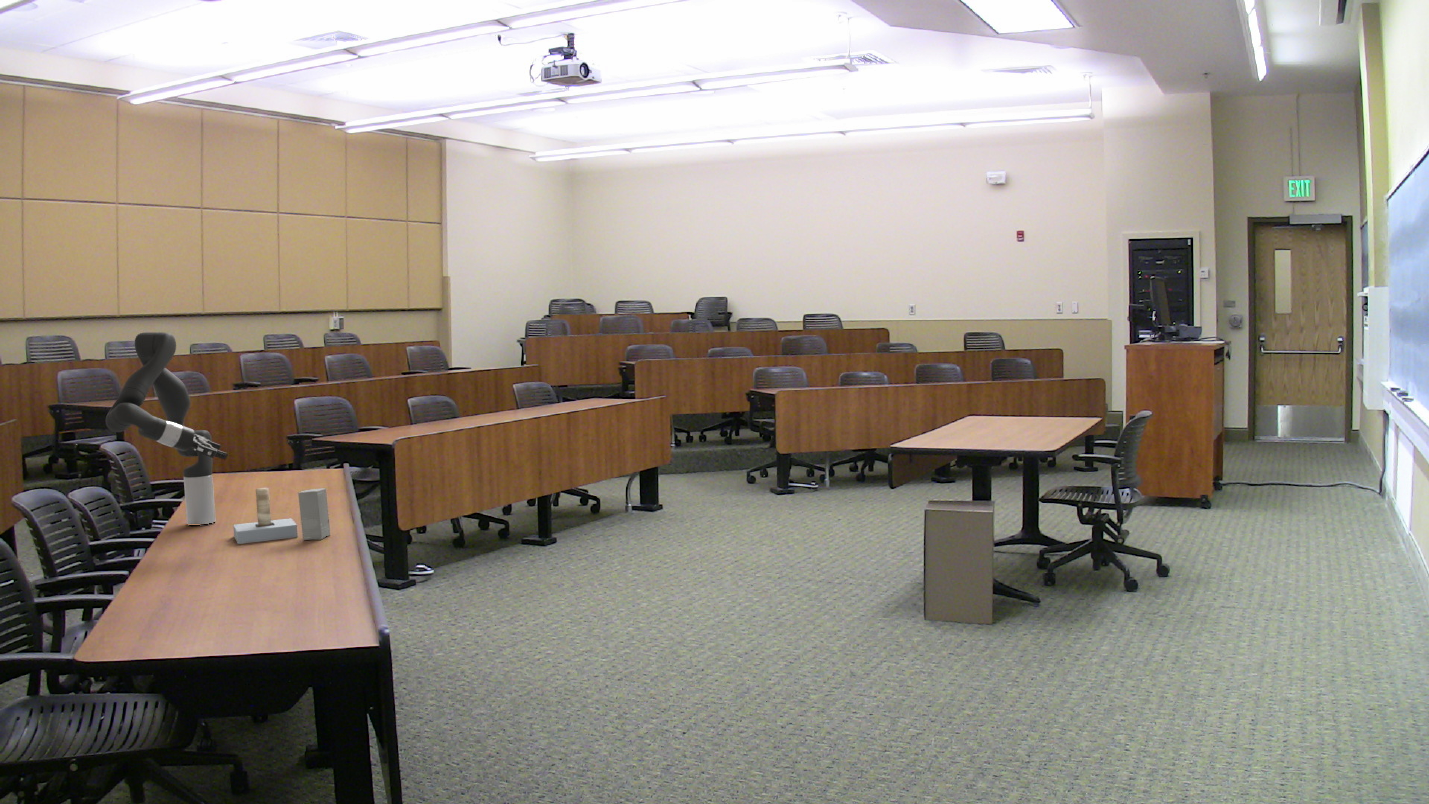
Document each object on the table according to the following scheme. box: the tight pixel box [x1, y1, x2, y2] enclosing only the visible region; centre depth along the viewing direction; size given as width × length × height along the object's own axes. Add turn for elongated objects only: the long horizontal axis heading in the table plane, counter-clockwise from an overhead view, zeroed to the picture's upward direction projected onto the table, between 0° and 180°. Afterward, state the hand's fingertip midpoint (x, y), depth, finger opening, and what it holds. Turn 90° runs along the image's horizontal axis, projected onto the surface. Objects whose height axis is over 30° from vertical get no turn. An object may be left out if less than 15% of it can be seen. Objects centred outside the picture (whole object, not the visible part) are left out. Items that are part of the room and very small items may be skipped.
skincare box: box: [297, 487, 331, 541], centre depth 350 cm, size 8×7×16 cm
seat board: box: [232, 517, 299, 545], centre depth 355 cm, size 14×18×4 cm
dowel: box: [255, 487, 272, 527], centre depth 354 cm, size 4×4×16 cm
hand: (222, 452), depth 354 cm, fingers open, 8 cm apart
